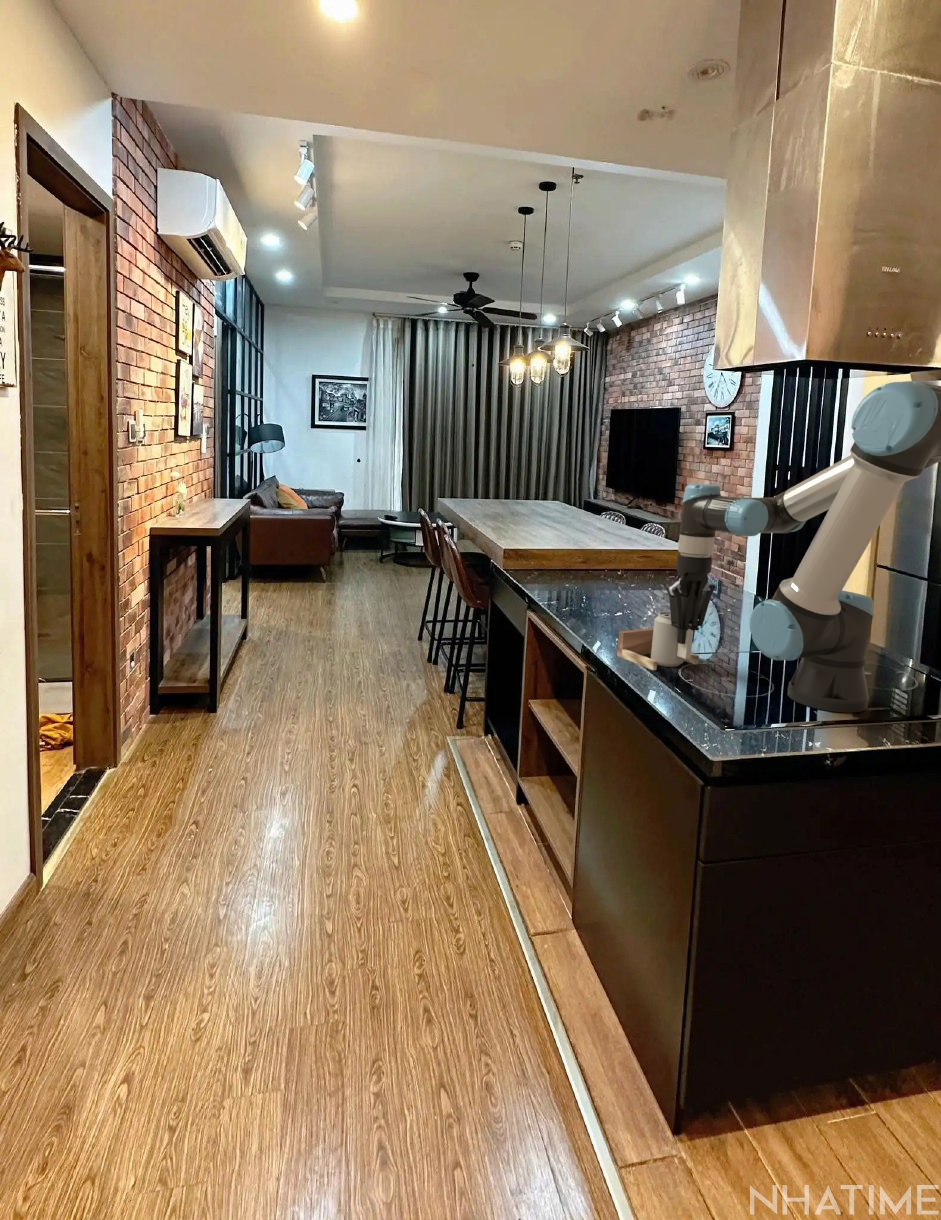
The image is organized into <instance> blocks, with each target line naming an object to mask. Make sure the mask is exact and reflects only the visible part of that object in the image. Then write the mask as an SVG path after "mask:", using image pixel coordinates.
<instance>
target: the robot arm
mask: <svg viewBox="0 0 941 1220" xmlns="http://www.w3.org/2000/svg"><path fill="white" fill-rule="evenodd" d="M850 428H851V429H852V434H851V435H852V439H853V441H854V442H853V444H852V445H851V447H850V450H849V452H850V455H848V456H846V457H845V458H843V459H841V460H839V461H837V462H835V463H833V464H832V465H830V466H828V467H826V468H825V469H823V470H820V471H819V472H817V473H815V474H813V475H812V476H810V477H809V478H807V479H804V480H803V481H801V482H799V483H797V484H796V485H794V486H792V487H790V488H788V489H787V490H785V491H782V492H781V493H779V494H777V495H775V496H773V497H737V496H736V497H735V496H725V495H721V487H720V486H719V485H717V484H710V483H688V484H687V485H686V486H685V488H684V494H683V499H682V506H681V507H682V509H681V520H680V527H679V528H680V529H679V537H678V538H679V540H678V549H677V551H678V552H679V554H678V555H677V556H676V564H675V565H676V566H675V570H676V571H677V576H676V578H675V582H674V584H672V585H668V586H667V587H666V591H667V594H668V596H669V597H668V599H669V611H670V613H671V625H672V626H674V627H676V628H678V637H677V643H678V650H677V656H679V657H682V658H684V659H688V658H690V657H691V653H692V648H693V647H692V645H693V643H694V641H695V634H696V633H695V632H696V631H697V632H698V631H699V630H700V627H703V625H704V621H705V618H706V616H707V615H706V614H707V611H708V608H709V605H710V602H711V598H712V595H713V593H714V591H715V589H716V585H715V584H713V583H711V582H709V576H708V575H709V574H711V572H712V565H713V558H712V555H713V554H714V552H715V551H714V548H715V540H716V532H721V533H726V534H731V535H732V534H733V535H736V536H738V537H756V536H757V535H759V534H788V533H794V532H797V531H799V530H801V529H802V528H803V527H804V525H805V524H806V522H807V521H808V520H810V519H812V518H814V517H817V516H818V515H820V514H822V513H824V512H826V511H827V513H826V515H825V516H824V519H823V520H822V522H821V524H820V526H819V528H818V530H817V531H816V533H815V535H814V537H813V538H812V541H811V542H810V545H809V547H808V549H807V550H806V552H805V553H804V554H805V555H804V556H803V558H802V560H801V562H800V563H799V565H798V567H797V569H796V571H795V573H794V575H793V577H790V578H787V579H783V580H782V581H781V582H779V583H780V584H779V585H778V587H777V589H776V591H775V592H774V595H773V597H772V598H771V599H766V600H763V601H761V602H760V603H758V604H756V606H755V607H754V608H753V610H752V612H751V614H750V617H749V631H750V633H751V638H752V641H753V644H755V646H756V648H757V649H758V651H759V652H760V653H762V654H763V655H764V656H765V657H767V658H769V659H771V660H774V661H790V662H791V661H795V660H797V659H798V660H799V659H801V660H800V662H799V664H798V666H797V668H796V670H795V672H794V674H793V675H792V678H791V680H790V681H789V682H788V687H787V696H788V698H790V700H793V701H794V702H796V703H798V704H801V705H804V706H806V707H809V708H813V709H816V710H817V709H818V710H821V711H822V710H823V711H828V712H834V713H860V712H863V711H865V710H867V709H868V705H869V701H870V700H869V699H870V695H869V692H868V691H869V690H868V685H867V680H866V679H867V678H866V674H865V663H866V659H867V652H868V646H869V640H870V634H871V630H872V629H871V628H872V624H873V619H874V616H875V615H874V607H875V603H874V600H873V599H872V597H870V596H868V595H865V594H862V593H857V592H852V591H845V590H843V589H844V588H845V586H846V584H847V582H848V581H849V579H850V577H851V575H852V574H853V572H854V571H855V568H856V566H857V565H858V563H859V561H860V560H861V558H862V557H863V554H864V553H865V551H866V549H868V546H869V545H870V542H871V541H872V539H873V537H874V536H875V534H876V533H877V531H878V529H879V526H880V525H881V523H882V522H883V520H884V518H885V517H886V515H887V513H888V511H889V510H890V508H891V507H892V504H893V503H894V501H895V500H896V498H897V496H898V494H899V493H900V490H901V489H902V487H903V486H904V483H905V482H908V481H911V480H915V479H918V478H919V477H920V476H921V474H922V472H923V471H924V470H925V469H928V468H929V467H931V466H934V465H935V464H938V463H939V462H941V385H937V384H932V383H931V384H929V383H924V382H923V383H922V382H919V381H918V382H917V381H914V380H912V381H911V380H907V381H894V382H887V383H885V384H882V385H881V386H878V387H876V388H874V389H873V390H872V391H870V392H869V393H868V394H866V396H865V397H863V398H862V399H861V401H860V403H858V405H857V407H856V409H855V411H854V413H853V415H852V419H851V427H850Z"/></svg>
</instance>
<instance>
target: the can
mask: <svg viewBox="0 0 941 1220" xmlns="http://www.w3.org/2000/svg"><path fill="white" fill-rule="evenodd" d="M653 621H654V622H653V623H654V624H653V628H654V631H653V640H652V650H651V654H650V659H652V660H655V661H657V666H661V667H667V668H673V667H675V668H676V667H678V666H680V665H682V664H683V663H684V662H685V661H684V658H682V657H679V656H677V650H678V643H677V637H678V628H676V627H674V626H672V625H671V613H670V610H669V611H668V610H667V611H666V610H665V611H663V610H661V611H659V612H658V613H657V616H656V617H655V618H654V620H653Z"/></svg>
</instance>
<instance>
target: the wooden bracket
mask: <svg viewBox="0 0 941 1220" xmlns="http://www.w3.org/2000/svg"><path fill="white" fill-rule="evenodd" d="M653 631H654V627H652V628H651V627H650V628H642V629H641V628H640V629H632V630H622V631H619V632H618V643H617V651H616V652H617V653H616V657H619V658H621V659H624V660H627V661H629V662H632V663H635V665H639V666H642V667H644V668H646V669H649V670H651V671H657V669H658V668H657V667H658V664H657V661H655V660H652V659H651V657H650V658H649V657H647V656H645V655H651V650H652V640H653ZM699 658H700V655H699V654H695V653H692V652H691V657H690V658H688V659H684V661H683V662H687V663H690V664H693V665H699Z"/></svg>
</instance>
